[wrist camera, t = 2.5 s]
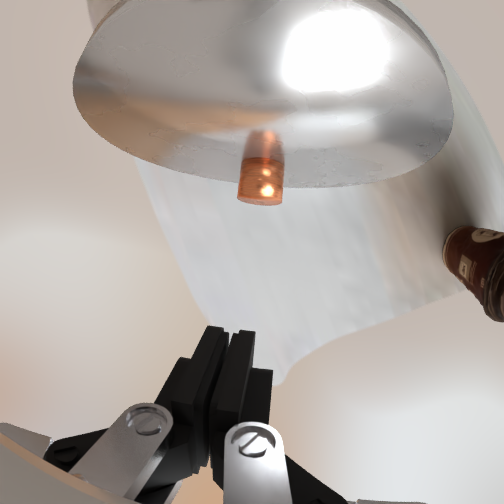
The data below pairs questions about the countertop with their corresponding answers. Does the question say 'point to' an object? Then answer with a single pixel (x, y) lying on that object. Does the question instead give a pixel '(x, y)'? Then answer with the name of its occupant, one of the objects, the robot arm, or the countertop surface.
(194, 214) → the countertop surface
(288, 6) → the cooker lid
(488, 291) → the coffee cup
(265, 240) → the countertop surface
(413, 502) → the robot arm
